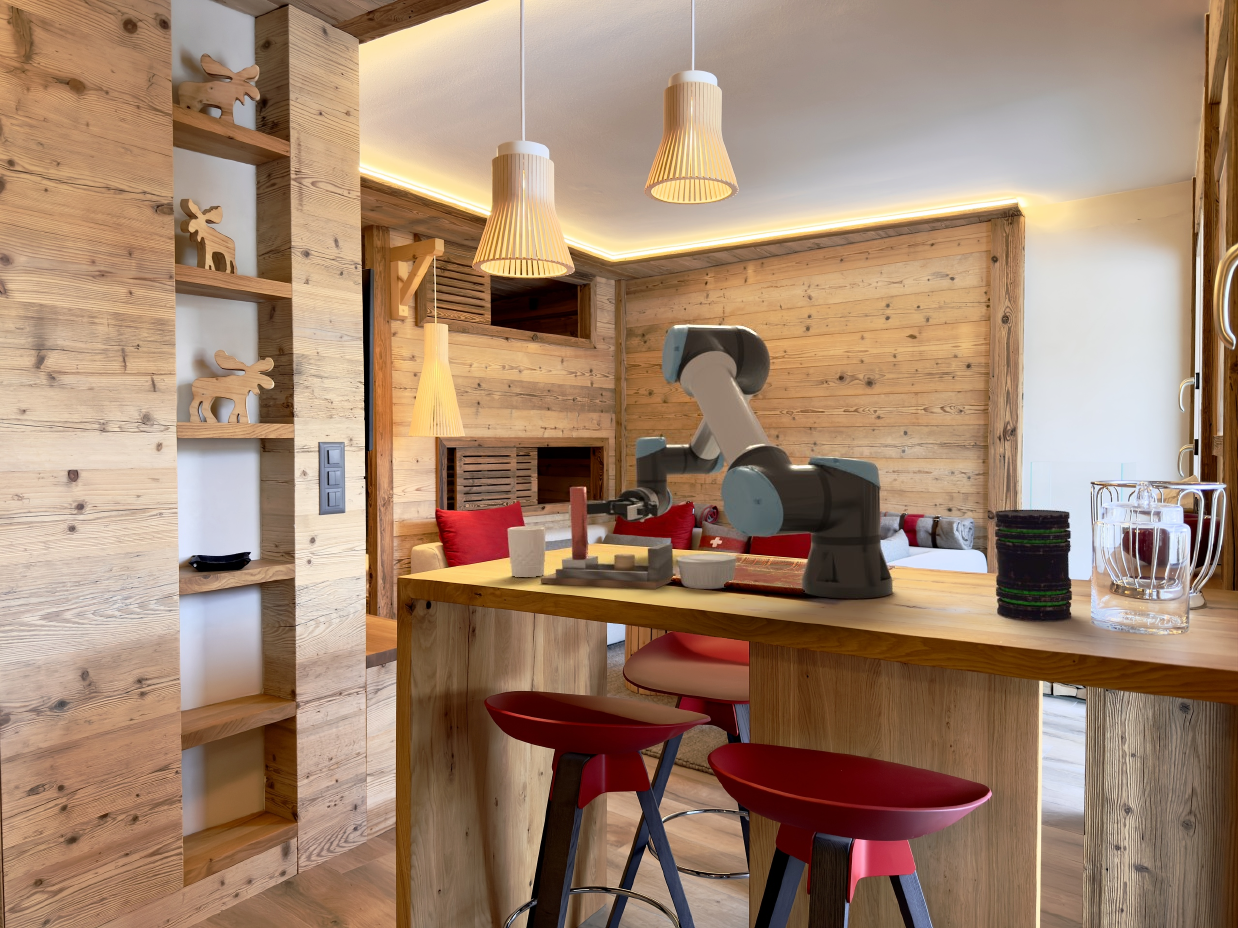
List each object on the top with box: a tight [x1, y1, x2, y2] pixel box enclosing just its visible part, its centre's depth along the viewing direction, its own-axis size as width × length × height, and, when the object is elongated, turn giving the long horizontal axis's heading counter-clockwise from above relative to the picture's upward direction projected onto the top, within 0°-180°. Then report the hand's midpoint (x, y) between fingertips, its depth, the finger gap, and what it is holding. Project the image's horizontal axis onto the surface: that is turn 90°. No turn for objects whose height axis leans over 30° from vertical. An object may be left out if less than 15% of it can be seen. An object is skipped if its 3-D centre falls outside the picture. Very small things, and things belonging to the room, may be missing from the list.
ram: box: [561, 486, 599, 570], centre depth 159 cm, size 5×6×17 cm
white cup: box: [507, 525, 547, 578], centre depth 168 cm, size 8×8×10 cm
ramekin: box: [676, 552, 738, 590], centre depth 151 cm, size 11×11×5 cm
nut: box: [613, 553, 636, 571], centre depth 156 cm, size 4×4×4 cm
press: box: [540, 543, 677, 590], centre depth 157 cm, size 24×11×7 cm, turn 67°
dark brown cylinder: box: [994, 509, 1073, 623], centre depth 117 cm, size 10×10×15 cm
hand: (599, 512), depth 169 cm, fingers open, 13 cm apart
